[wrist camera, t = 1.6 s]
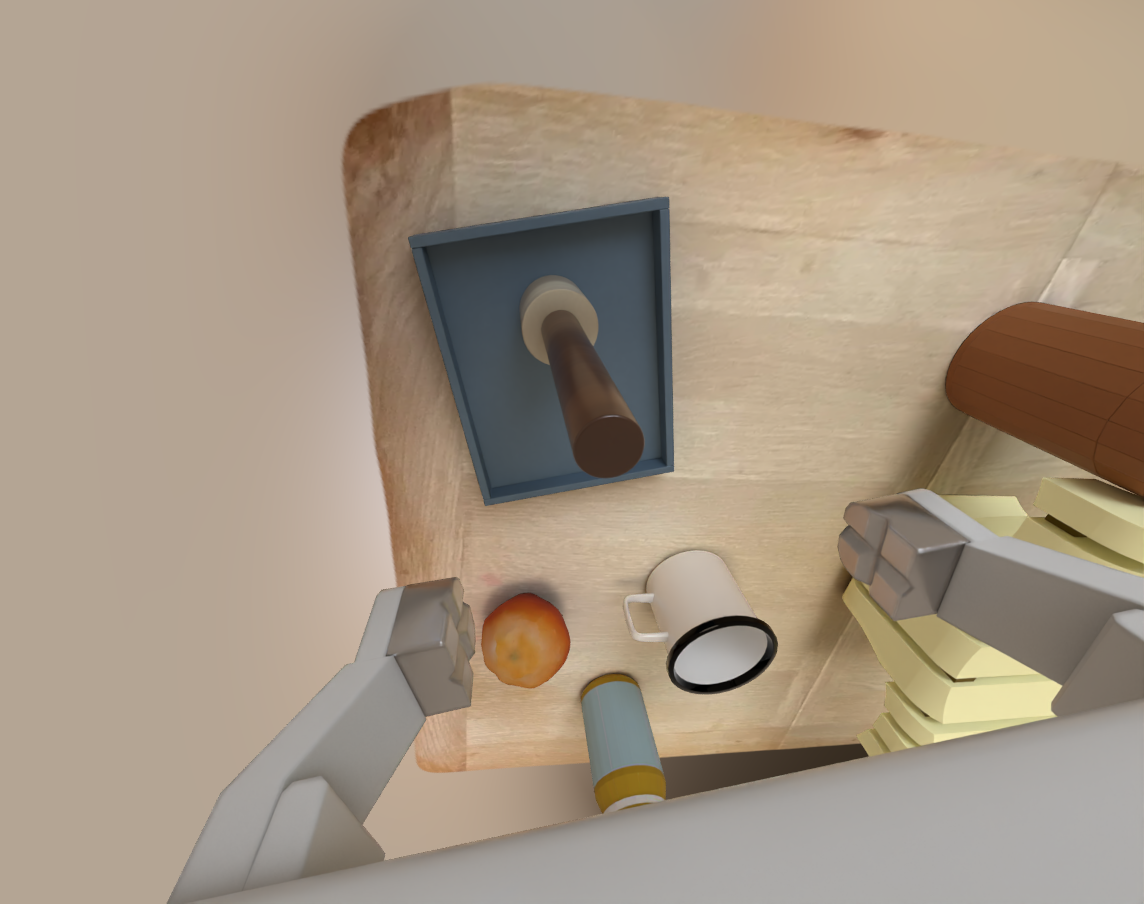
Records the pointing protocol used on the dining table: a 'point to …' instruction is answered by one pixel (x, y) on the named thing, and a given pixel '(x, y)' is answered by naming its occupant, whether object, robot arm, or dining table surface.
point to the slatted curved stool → (967, 665)
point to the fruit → (525, 641)
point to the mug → (704, 624)
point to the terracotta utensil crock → (1059, 386)
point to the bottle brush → (580, 377)
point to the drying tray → (519, 380)
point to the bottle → (621, 745)
